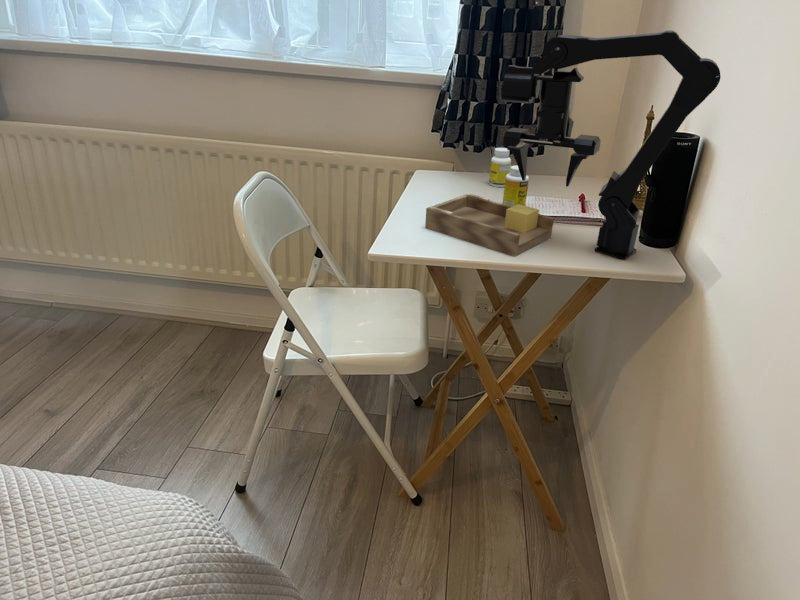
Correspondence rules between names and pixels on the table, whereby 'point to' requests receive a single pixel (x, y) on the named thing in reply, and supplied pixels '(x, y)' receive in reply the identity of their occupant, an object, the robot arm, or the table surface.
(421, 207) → the table surface
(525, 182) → the supplement bottle
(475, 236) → the wooden tray
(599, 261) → the table surface
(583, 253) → the table surface
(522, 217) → the block
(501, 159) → the supplement bottle
